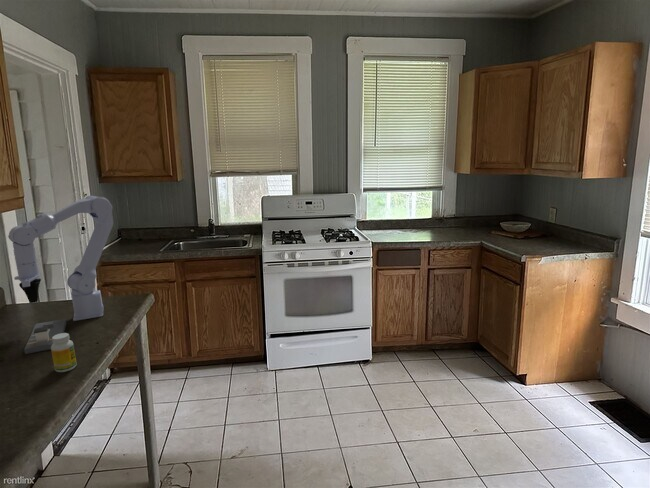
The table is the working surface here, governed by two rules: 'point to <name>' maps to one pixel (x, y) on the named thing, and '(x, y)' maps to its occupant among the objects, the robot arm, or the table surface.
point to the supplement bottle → (63, 353)
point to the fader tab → (41, 334)
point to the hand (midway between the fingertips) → (33, 301)
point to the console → (34, 346)
